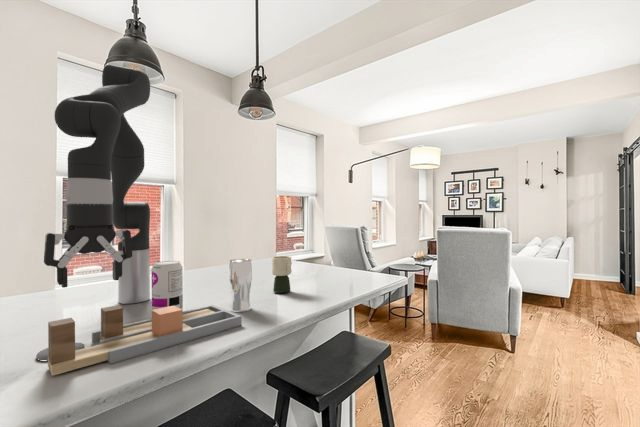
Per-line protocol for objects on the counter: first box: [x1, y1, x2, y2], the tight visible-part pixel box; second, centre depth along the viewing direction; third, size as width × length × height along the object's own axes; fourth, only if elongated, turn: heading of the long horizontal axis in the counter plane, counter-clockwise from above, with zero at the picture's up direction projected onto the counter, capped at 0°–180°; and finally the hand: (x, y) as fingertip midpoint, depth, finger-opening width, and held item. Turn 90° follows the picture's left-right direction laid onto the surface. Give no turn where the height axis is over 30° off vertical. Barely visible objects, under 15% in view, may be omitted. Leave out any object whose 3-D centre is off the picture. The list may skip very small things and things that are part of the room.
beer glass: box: [228, 258, 253, 313], centre depth 99 cm, size 7×7×15 cm
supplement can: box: [151, 260, 184, 311], centre depth 95 cm, size 8×8×15 cm
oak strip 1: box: [47, 317, 191, 377], centre depth 69 cm, size 6×26×9 cm, turn 136°
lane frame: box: [91, 304, 243, 365], centre depth 79 cm, size 15×30×2 cm, turn 136°
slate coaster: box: [35, 342, 86, 360], centre depth 69 cm, size 8×8×1 cm
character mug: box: [271, 255, 293, 294], centre depth 120 cm, size 11×7×13 cm, turn 39°
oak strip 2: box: [100, 304, 214, 340], centre depth 81 cm, size 6×26×8 cm, turn 136°
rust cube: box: [151, 306, 184, 337], centre depth 75 cm, size 5×5×5 cm
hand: (91, 283), depth 65 cm, fingers open, 8 cm apart
